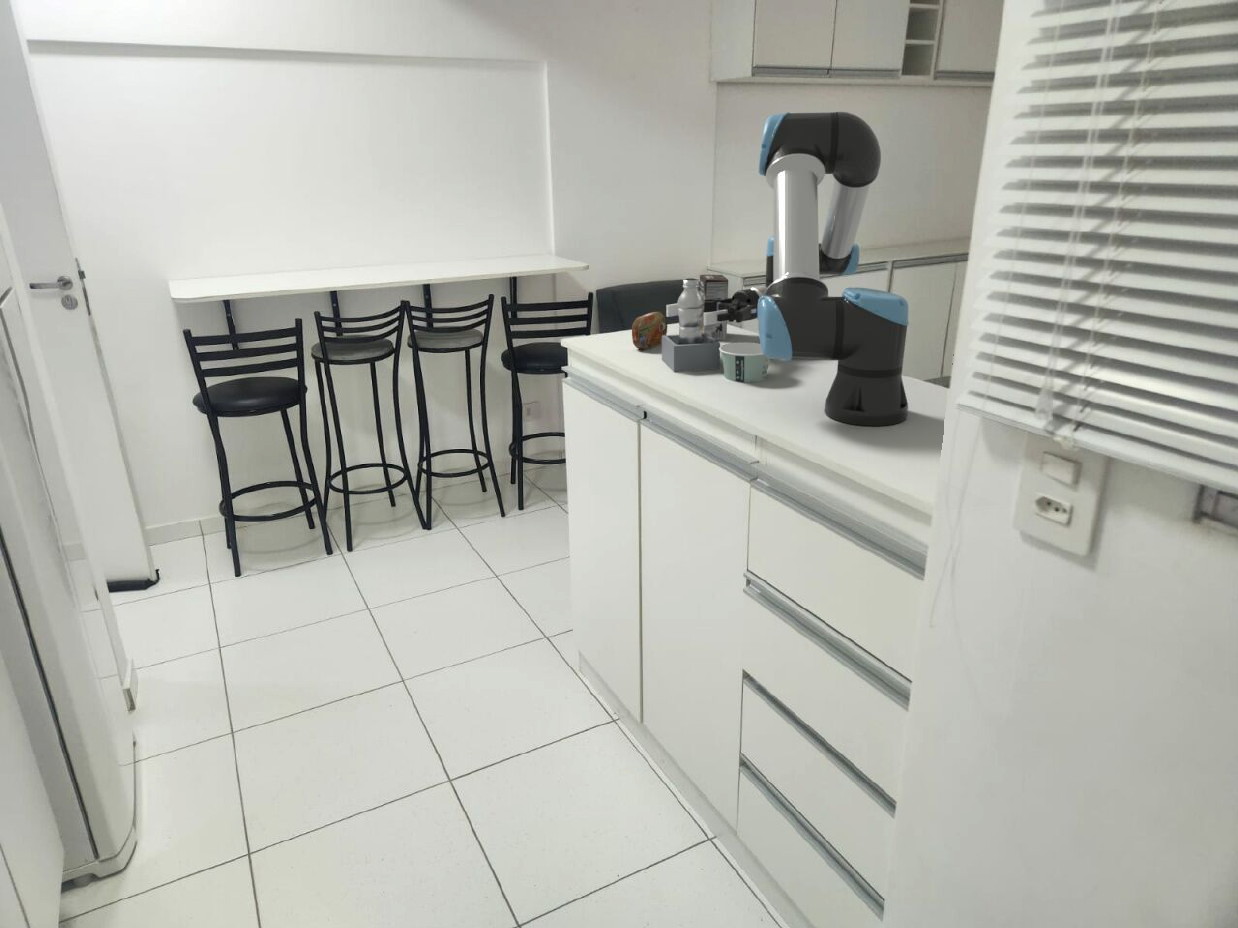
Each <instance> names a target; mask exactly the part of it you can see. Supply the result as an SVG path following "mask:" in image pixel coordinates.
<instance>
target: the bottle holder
mask: <svg viewBox="0 0 1238 928" xmlns="http://www.w3.org/2000/svg"><path fill="white" fill-rule="evenodd" d="M678 340H679V333H678V334H666V335H662V343H661V360H662V362H663V363H665V365H666V366H667V367H668V368H669V369H670V370H671V371H672V372H674V373H676V372H677V373H678V372H688V371H689V372H691V371H692V372H694V371H707V370H720V368H721V366H720V365H721V351H720V350H719V348H720V347H721V342H719V340H715V339H714V338H712V337H711V336H709V335H708V334H707V333H702V344H687V345H678Z"/></svg>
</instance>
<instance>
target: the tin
mask: <svg viewBox="0 0 1238 928" xmlns="http://www.w3.org/2000/svg"><path fill="white" fill-rule="evenodd" d="M666 317H667V316H666V315H665V313H664V312H662V311H653V312H648V313H646V314H644V315H641V316H637V317H636V318H635V319H634V321H633V323H632V326H631V337H632V338H631V339H632V343H633V345H634V347H635V348H636V349H640V350H649V349H652V348H654V347H655V346H658V345H662V335H668V334H667V333H668V321H667V318H666Z"/></svg>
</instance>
